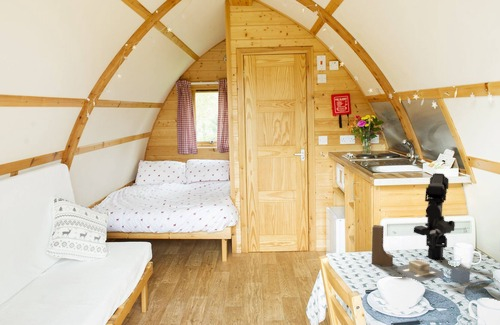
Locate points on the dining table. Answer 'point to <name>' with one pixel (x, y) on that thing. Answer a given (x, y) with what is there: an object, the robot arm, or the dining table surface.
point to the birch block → (419, 267)
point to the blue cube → (460, 275)
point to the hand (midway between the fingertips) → (433, 247)
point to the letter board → (422, 277)
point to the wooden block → (379, 248)
